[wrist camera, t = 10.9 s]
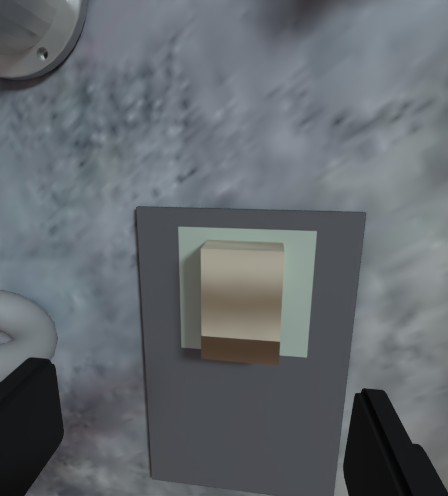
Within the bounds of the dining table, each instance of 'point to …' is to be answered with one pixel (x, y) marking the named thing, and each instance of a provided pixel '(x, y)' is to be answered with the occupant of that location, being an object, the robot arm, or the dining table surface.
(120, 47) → the dining table surface
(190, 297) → the mat
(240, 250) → the wooden block
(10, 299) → the donut
